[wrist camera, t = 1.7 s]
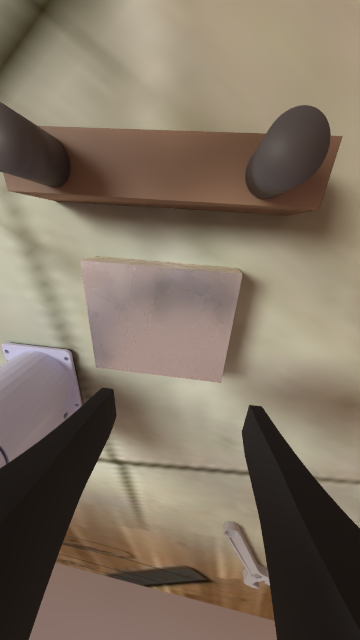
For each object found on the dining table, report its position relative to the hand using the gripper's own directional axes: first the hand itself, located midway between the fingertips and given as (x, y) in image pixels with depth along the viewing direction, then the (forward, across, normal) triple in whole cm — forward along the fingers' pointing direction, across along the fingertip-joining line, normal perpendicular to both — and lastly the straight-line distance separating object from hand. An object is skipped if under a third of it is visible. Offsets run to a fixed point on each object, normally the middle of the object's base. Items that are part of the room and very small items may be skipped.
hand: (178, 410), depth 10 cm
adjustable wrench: (+10, -16, +48) cm, 51 cm away
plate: (+10, +2, -1) cm, 10 cm away
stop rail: (+9, +2, -12) cm, 15 cm away
